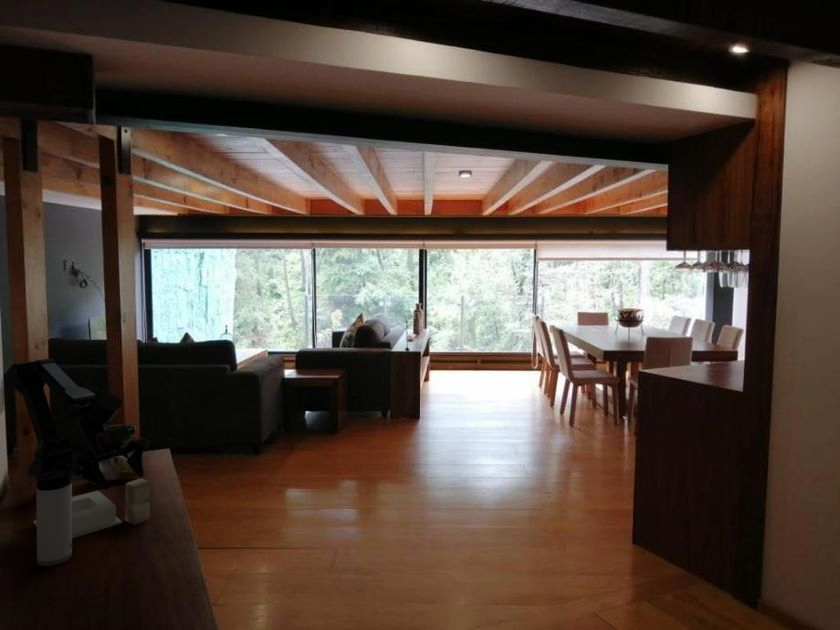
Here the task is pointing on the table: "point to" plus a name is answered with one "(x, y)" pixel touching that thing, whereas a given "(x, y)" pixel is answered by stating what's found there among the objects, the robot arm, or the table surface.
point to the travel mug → (54, 515)
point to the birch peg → (137, 501)
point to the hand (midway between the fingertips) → (125, 482)
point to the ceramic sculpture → (116, 469)
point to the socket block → (91, 513)
